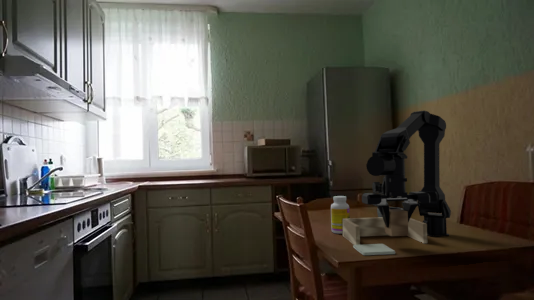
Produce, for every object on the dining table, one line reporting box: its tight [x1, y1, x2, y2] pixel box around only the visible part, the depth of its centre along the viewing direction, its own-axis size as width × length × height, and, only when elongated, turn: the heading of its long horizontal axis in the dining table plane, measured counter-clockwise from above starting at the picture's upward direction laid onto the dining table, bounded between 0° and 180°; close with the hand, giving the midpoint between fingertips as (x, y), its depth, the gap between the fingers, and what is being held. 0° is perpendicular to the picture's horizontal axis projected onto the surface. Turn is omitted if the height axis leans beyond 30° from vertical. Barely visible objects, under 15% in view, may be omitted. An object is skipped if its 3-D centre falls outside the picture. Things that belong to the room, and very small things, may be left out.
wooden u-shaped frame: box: [342, 216, 428, 245], centre depth 120 cm, size 22×14×6 cm, turn 94°
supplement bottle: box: [330, 195, 351, 235], centre depth 133 cm, size 7×7×13 cm
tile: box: [352, 243, 396, 256], centre depth 107 cm, size 9×9×1 cm
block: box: [385, 209, 408, 237], centre depth 110 cm, size 5×5×7 cm
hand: (396, 227), depth 110 cm, fingers closed on block, 5 cm apart
